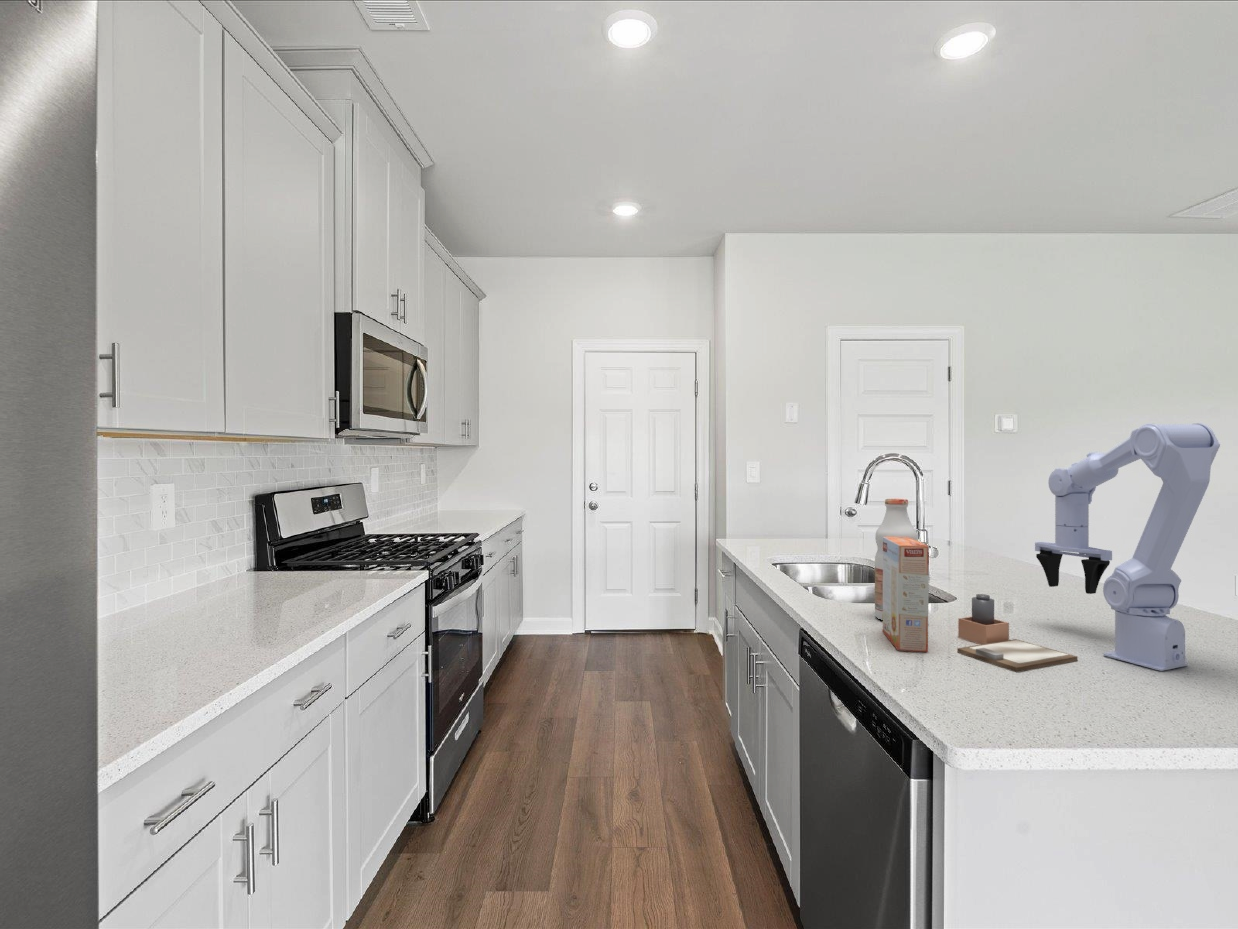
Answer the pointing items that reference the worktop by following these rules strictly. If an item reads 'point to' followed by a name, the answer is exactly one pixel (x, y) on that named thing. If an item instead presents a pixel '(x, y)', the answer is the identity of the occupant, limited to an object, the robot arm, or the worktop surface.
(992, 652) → the clipboard
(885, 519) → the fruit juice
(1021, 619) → the worktop surface
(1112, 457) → the robot arm
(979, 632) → the terracotta open box
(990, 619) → the grey lidded canister
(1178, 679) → the worktop surface
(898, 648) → the cracker box
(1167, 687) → the worktop surface
